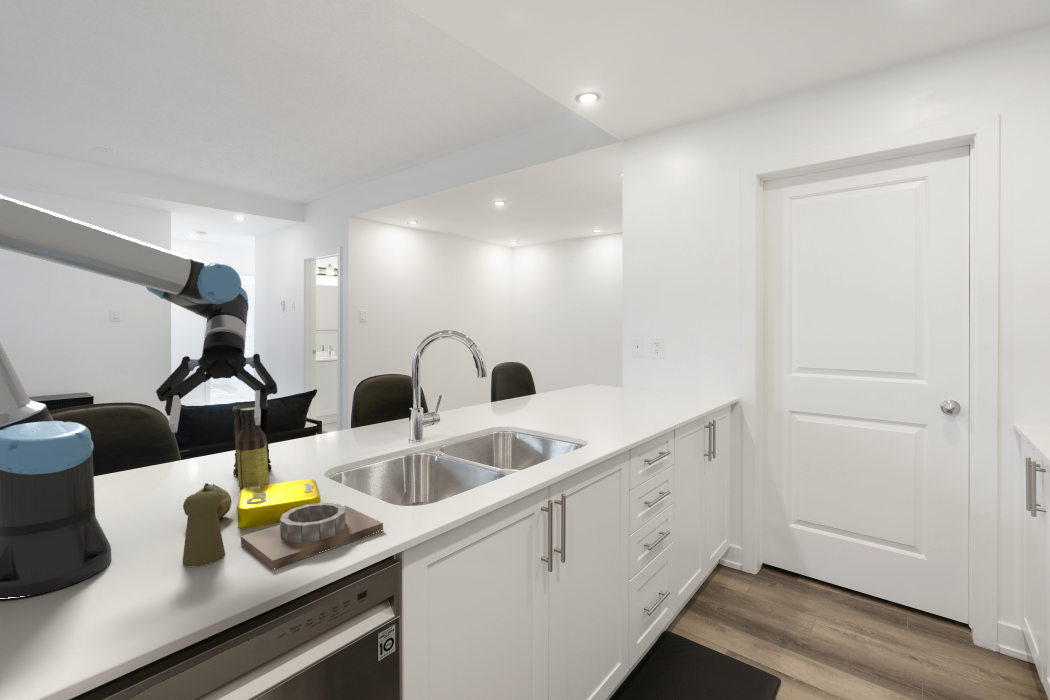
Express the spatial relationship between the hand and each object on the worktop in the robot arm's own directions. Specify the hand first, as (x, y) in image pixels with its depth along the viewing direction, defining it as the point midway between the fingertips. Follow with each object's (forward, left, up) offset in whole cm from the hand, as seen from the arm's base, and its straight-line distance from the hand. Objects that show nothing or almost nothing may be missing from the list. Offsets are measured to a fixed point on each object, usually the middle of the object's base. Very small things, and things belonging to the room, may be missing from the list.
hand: (216, 424), depth 93 cm
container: (+19, +37, -21) cm, 46 cm away
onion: (+1, +8, -21) cm, 22 cm away
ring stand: (+11, -16, -21) cm, 28 cm away
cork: (-5, -10, -21) cm, 24 cm away
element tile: (+12, +3, -21) cm, 25 cm away
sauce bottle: (+13, +19, -21) cm, 31 cm away
